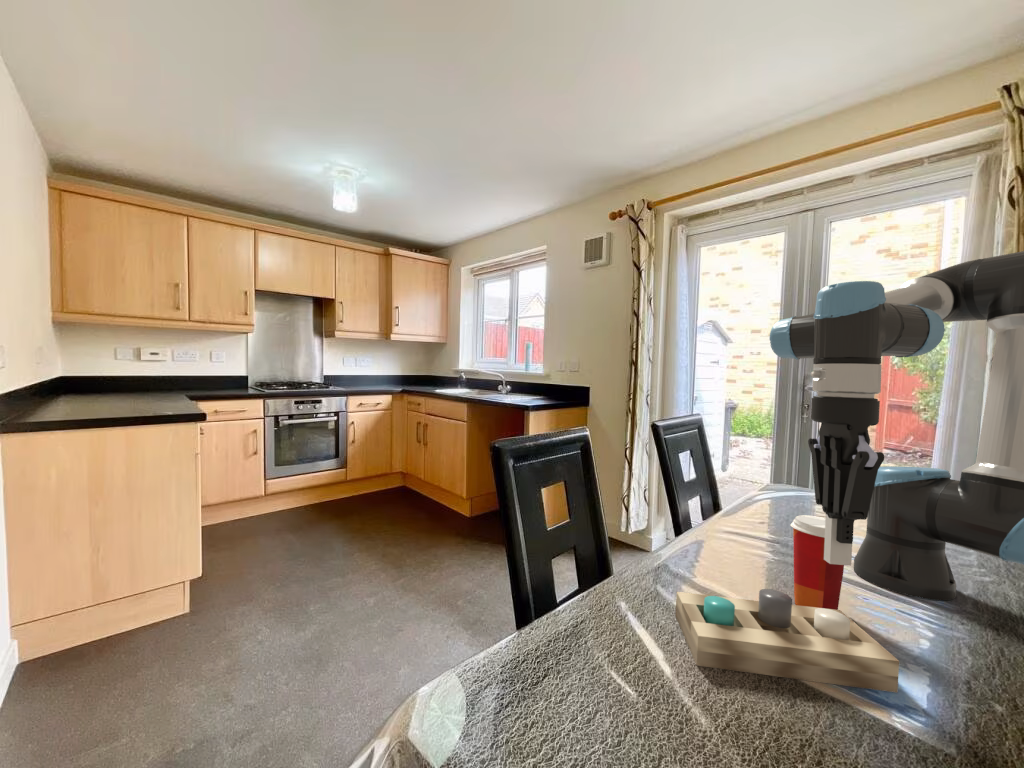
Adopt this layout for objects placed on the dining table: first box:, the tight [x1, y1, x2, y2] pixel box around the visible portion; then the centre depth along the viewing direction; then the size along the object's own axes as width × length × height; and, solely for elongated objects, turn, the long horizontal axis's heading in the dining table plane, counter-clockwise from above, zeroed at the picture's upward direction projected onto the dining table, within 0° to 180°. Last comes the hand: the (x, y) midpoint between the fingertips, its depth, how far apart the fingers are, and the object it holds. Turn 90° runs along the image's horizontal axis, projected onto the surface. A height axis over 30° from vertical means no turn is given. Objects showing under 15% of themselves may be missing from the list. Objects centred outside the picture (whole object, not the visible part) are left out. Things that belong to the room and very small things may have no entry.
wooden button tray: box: [675, 591, 900, 694], centre depth 61 cm, size 24×12×4 cm, turn 82°
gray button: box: [758, 588, 793, 628], centre depth 61 cm, size 4×4×4 cm
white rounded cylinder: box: [814, 608, 850, 640], centre depth 60 cm, size 4×4×4 cm
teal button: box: [703, 595, 735, 626], centre depth 62 cm, size 4×4×4 cm
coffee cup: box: [790, 514, 845, 610], centre depth 73 cm, size 8×8×15 cm
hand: (837, 562), depth 60 cm, fingers closed
